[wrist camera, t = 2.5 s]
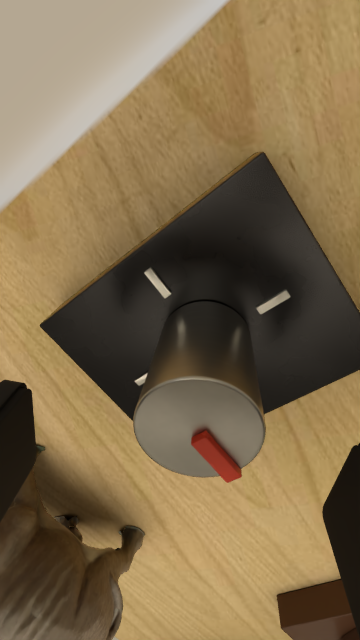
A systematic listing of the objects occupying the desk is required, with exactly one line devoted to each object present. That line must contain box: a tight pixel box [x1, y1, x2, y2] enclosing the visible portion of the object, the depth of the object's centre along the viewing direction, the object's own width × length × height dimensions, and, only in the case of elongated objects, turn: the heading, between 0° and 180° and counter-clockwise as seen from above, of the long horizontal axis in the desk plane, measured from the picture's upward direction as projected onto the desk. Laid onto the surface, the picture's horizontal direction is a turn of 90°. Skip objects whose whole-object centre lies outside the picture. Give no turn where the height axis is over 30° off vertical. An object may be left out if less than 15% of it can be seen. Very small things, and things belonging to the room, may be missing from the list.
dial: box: [133, 301, 266, 483], centre depth 12 cm, size 4×4×6 cm
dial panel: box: [40, 152, 360, 421], centre depth 16 cm, size 12×10×3 cm
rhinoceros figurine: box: [0, 445, 145, 640], centre depth 21 cm, size 8×14×15 cm
